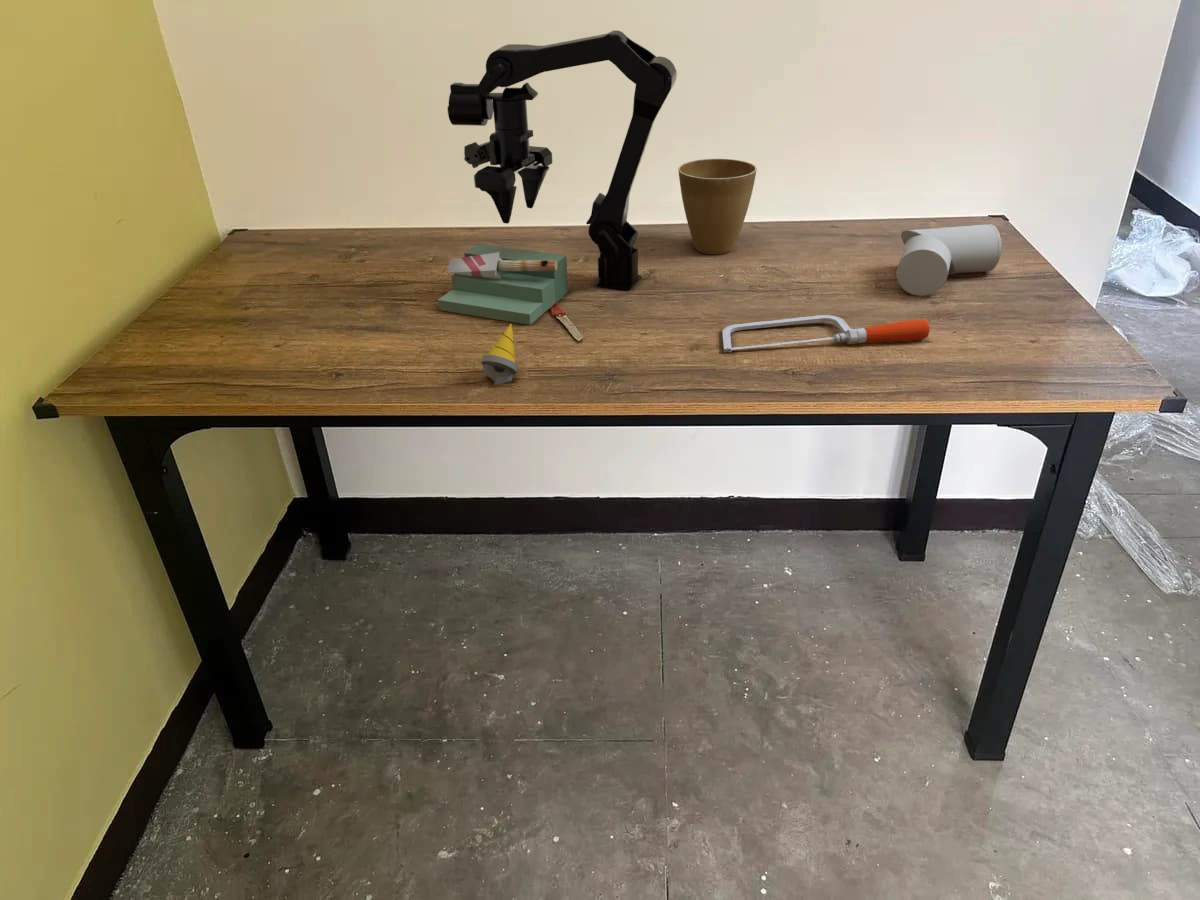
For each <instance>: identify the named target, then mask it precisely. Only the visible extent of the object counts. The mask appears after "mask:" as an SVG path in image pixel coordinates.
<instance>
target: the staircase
mask: <svg viewBox="0 0 1200 900" xmlns="http://www.w3.org/2000/svg"><path fill="white" fill-rule="evenodd" d="M496 252H500V253H499V257H500V258H501V259H502V260H503V261H517V260H556V261H557V264H558V265H557V266H558V267H557V271H502V275H501V280H499V279H492V278H484V277H476V276H469V275H461V274H452V275H451V285H452V289H451V290H450V291H448V292H447V293H446V294H444V295H443V296H441V297H440V298H438V299H437V304H438V310H439V311H442V312H449V313H454V314H460V315H467V316H473V317H480V318H484V319H491V320H496V321H504V322H510V323H516V324H522V325H526V326H527V325H528V326H531V325H532V324H533V323H534V322H536V321H537V320H538V319H539V318H540V317H541V316H542V315H544V314H545V313H546V312H547V311H548V310H550V309H551V308H552V307H553V306H554V305H555V304H556V303H558V301H560V300H561V299H562V298H563V297H564V296H565V295H567V294H568V293H569V285H568V283H569V282H568V266H567V264H568V263H567V255H565V254H558V253H550V252H544V251H543V252H542V251H534V250H527V249H520V248H514V247H513V248H511V247H504V246H497V245H490V244H489V245H488V244H482V243H481V244H480V243H477V244H476V245H474V246H472V247H471V248H470V249H468V250H467V251H465V252H464V254H463V256H464V257H470V256H476V255H483V254H489V253H496ZM543 267H546V265H545V266H543Z"/></svg>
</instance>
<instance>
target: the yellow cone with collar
mask: <svg viewBox="0 0 1200 900" xmlns="http://www.w3.org/2000/svg"><path fill="white" fill-rule="evenodd" d="M513 333H514V332H513V324H512V323H510V324H509V325H508V326H507V327H506V329H505V330H504V332H503V333H502V335H501V336H500V337H499V339H498V340H497V341H496V342H495V344H494V345H493V346H492V347H491V349H490V350H489V352H488V353H487V354H484V355H483V356H482V359H481V363H480V364H481V365H482V368H481V372H482V373H484V375H486V376H487V377H488V378H490V379H491V380H492V381H493V386H497V385H502V384H506V383H510V382H512V380H513V376H514V375H515V374H516V373H517V371H518V367H519V366H518V364H517V363H516V357H515V345H514V335H513Z"/></svg>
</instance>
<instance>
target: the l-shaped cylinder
mask: <svg viewBox="0 0 1200 900" xmlns="http://www.w3.org/2000/svg"><path fill="white" fill-rule="evenodd" d="M900 238H901V241H902V243H903V244H904V247H903V250H902V253H901V255H900V259H899V260H898V261H899V262H898V264H897V267H896V273H895V274H896V279H897V283H898V284H899V286H900V288H902V289H903V290H904V291H905V292H907V293H908V294H910V295H912V296H918V297H925V296H931V295H933V294H935V293H936V292H938V291H939V290H940V289H941V288H942V287H944V285H945V284H946V282H947V279H948V276H949V275H954V274H965V273H966V274H968V273H969V274H970V273H980V272H981V273H982V272H991V271H993V270H994V269H996V267H997V266H998V265H999V262H1000V259H1001V255H1002V238H1001V234H1000V231H999V230H998V228H997V227H996V226H995V225H994V224H990V223H988V224H986V223H985V224H973V225H961V226H947V227H946V226H945V227H932V228H920V229H907V230H903V231H901V234H900Z"/></svg>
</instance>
